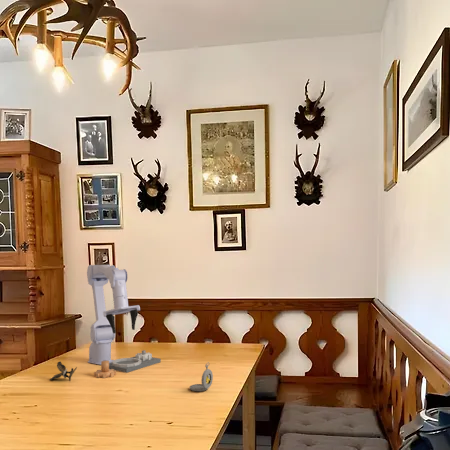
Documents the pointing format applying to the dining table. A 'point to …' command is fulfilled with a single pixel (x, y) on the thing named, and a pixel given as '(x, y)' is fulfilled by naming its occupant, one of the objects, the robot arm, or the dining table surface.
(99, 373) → the planet gear
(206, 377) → the pocket watch
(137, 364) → the carrier plate
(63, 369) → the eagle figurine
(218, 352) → the dining table surface
